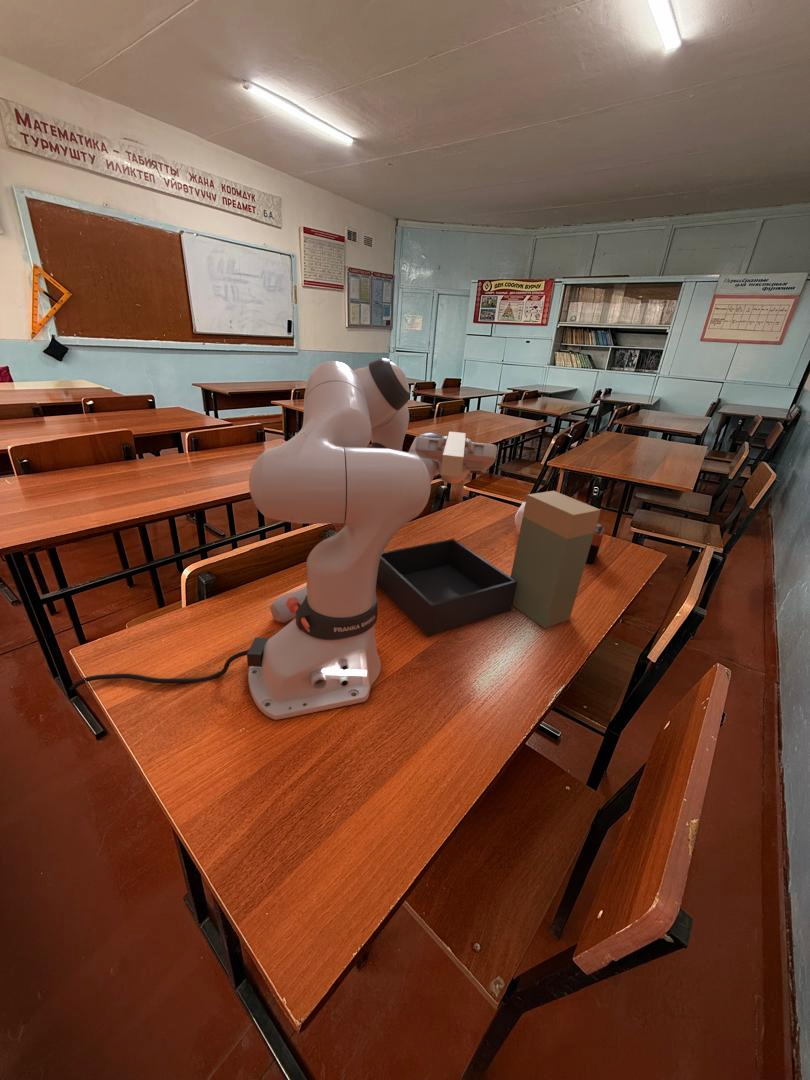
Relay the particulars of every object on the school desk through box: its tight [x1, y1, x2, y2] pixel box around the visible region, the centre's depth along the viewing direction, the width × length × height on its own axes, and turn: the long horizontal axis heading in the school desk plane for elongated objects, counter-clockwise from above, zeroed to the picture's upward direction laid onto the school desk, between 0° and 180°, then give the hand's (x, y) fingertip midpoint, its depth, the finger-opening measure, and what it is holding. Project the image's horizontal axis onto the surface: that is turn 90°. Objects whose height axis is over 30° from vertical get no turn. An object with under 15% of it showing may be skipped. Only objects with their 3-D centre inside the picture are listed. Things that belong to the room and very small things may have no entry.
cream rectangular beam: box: [439, 431, 467, 477], centre depth 94 cm, size 4×24×4 cm, turn 172°
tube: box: [269, 586, 307, 624], centre depth 94 cm, size 5×5×25 cm
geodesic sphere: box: [514, 501, 526, 534], centre depth 130 cm, size 15×14×14 cm
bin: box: [376, 538, 517, 638], centre depth 100 cm, size 23×24×8 cm
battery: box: [586, 523, 605, 565], centre depth 123 cm, size 4×7×10 cm, turn 150°
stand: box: [510, 490, 601, 630], centre depth 93 cm, size 8×12×26 cm, turn 31°
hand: (456, 441), depth 102 cm, fingers closed on cream rectangular beam, 4 cm apart
